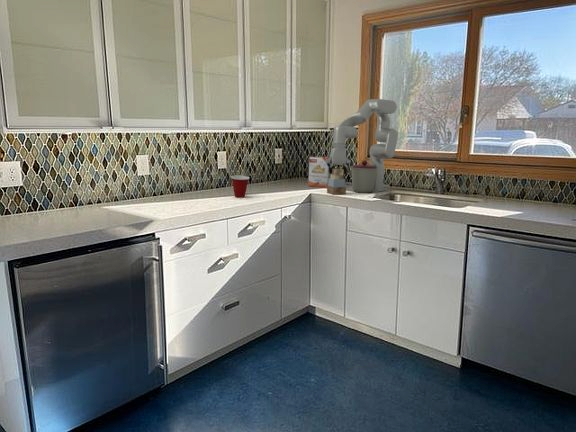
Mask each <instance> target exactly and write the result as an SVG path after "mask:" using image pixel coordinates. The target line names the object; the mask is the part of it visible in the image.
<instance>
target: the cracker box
mask: <svg viewBox="0 0 576 432" xmlns="http://www.w3.org/2000/svg"><path fill="white" fill-rule="evenodd" d="M329 158H330V157H324V156H310V157H309V163H308V164H309V165H308V183H307V184H308V185H307V186H308V187H315V188H316V187H318V188H327V186H328V183H329V178H330V174H329V167H328V166H327V164H326V162H325V160H327V159H329ZM328 162H329V161H328ZM329 164H330V163H329Z"/></svg>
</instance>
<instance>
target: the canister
mask: <svg viewBox="0 0 576 432" xmlns="http://www.w3.org/2000/svg"><path fill="white" fill-rule="evenodd" d="M350 169H351V186H352V191H353V192H356V193H361V194H370V193H372V192H374V191H373V189H374V184H375V179H376V173H377V169H378V168H377V167H376V166H374V165H370V164H368V161H367V160H365V159H364V160H362V161H361V164H360V163H359V164H358V163H357V164H352V165H351V166H350Z"/></svg>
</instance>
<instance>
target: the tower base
mask: <svg viewBox="0 0 576 432" xmlns="http://www.w3.org/2000/svg"><path fill="white" fill-rule="evenodd" d="M326 194H329V195H333V196H343V195H344V196H346V194H347V187H346V186H345V187H331V186H327V187H326Z"/></svg>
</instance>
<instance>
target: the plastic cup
mask: <svg viewBox="0 0 576 432" xmlns="http://www.w3.org/2000/svg"><path fill="white" fill-rule="evenodd" d="M230 178H231V182H232V188H233V194H234V197H235V198H239V199H240V198H241V199H242V198H245V197H246V192H247V190H248V189H247V187H248V183H249V180H250V176H246V175H232V176H230Z"/></svg>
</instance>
